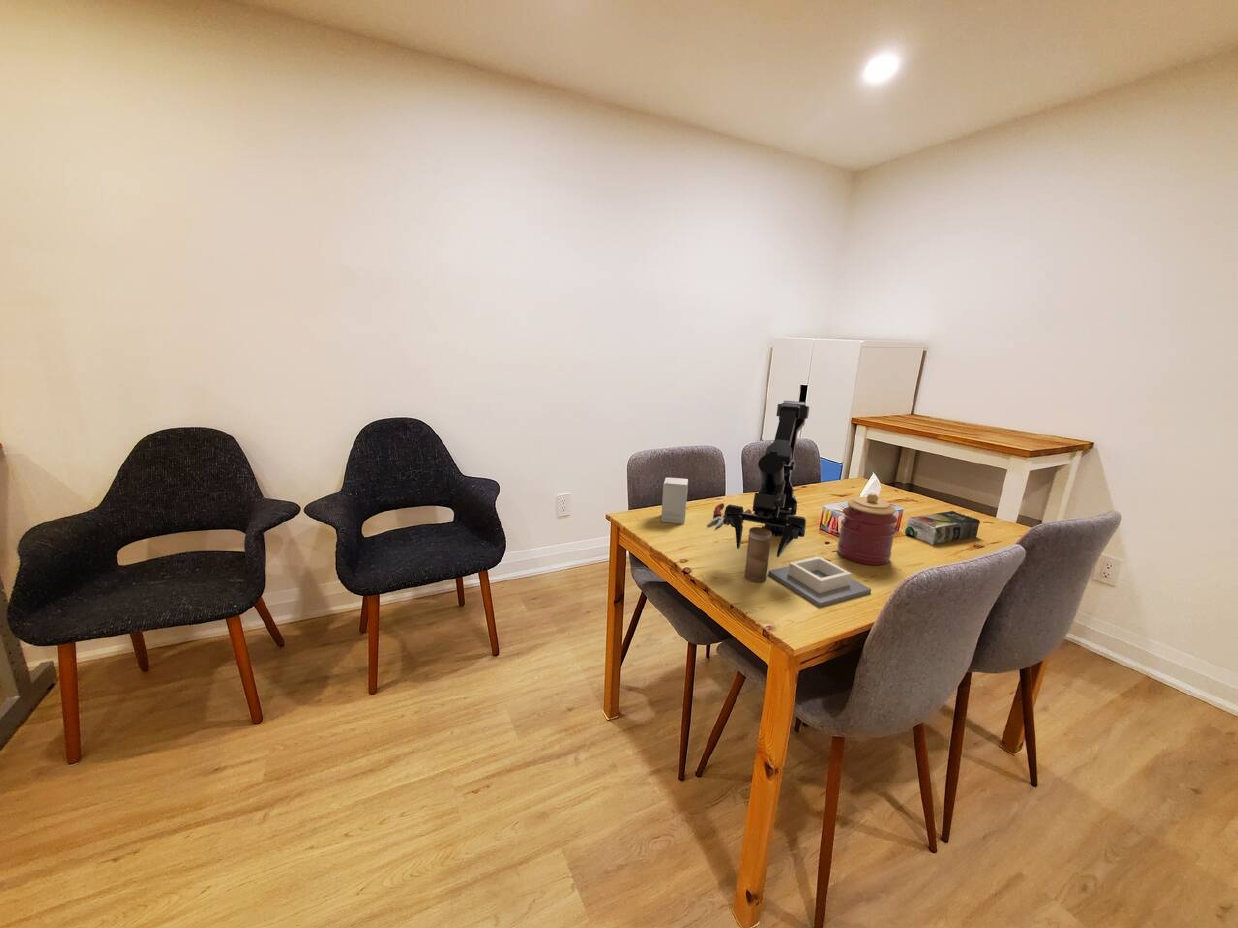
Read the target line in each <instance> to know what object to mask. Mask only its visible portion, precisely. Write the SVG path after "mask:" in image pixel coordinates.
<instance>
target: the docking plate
mask: <svg viewBox="0 0 1238 928" xmlns="http://www.w3.org/2000/svg"><path fill="white" fill-rule="evenodd" d="M767 575H768V576H770V577H772V578H773V579H774V580H776V581H778V582H779V583H781V584H782V585H784V586H785V587H787V588H789V589H790V590H792V591H793V592H795V593H796V594H798V595H800V596H802V597H803V598H804V599H806V600H807V601H809V602H811V603H812V604H814V605H815V606H816V607H819V608H821V607H825V606H829V605H833V604H835V603H840V602H843V601H846V600H847V601H848V600H849V599H850V598H851V599H854V598H857V597H858V598H859V597H861V596H865V595H867V594H868V595H869V594H871V592H872V588H871V587H868V586H867V585H865V584H862V583H861V582H859V581H857V580H855V579H853V578H852V572H850V571H848V570H846V569H845V568H842V567H841V566H838V565H836V564H834V563H833V562H831V561H828V560H827V559H825V558H823V557H821V556H814V557H810V558H804V559H802V560H801V559H800V560H797V561H793V562H789V564H788V566H784V567H780V568H776V569H775V568H774V569H771V570H768V571H767Z"/></svg>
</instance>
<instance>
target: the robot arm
mask: <svg viewBox="0 0 1238 928" xmlns="http://www.w3.org/2000/svg"><path fill="white" fill-rule="evenodd" d="M809 413H810V406H809V405H807V404H806V402H805V401H794V400H783V403H778V404H777V409H776V417H778V424H777V428H776V432H775V436H774V440H773V442H772V443H770V445H768V446H767V448H766V451H765V454H762V455H761V458H760V459H759V460H758V462H757V464H758V465H757V466H758V473H759V475H758V476H759V480H760V485H759V489H758V492H754V497H753V501H752V511H753V513H746V512H745V511H744V507H743V506H741V505H740V506H739V505H735V504H728V505H726V507H725V509H724V513H723V514H724V515H725V518H726V522H727V523H726V524H728V523H729V525H730V527H732V528H734V530H735V538H736V542H735V543H736V549H738V550H739V549H740V548H741V543H742V536H743V528H744V526H743V523H744V521H747V522H753V523H757V524H759V523H760V524H764V526H761V527H762V528H766V529H768V530H770V531H771V532H772V534H771V535H772V536H776V537H779V536H781V538H780V541H779V544H778V547H777V552H776V557H777V558H779V557H780V556H781V554H782V553H783V551H784V550H785V549H786V547H788V545H789V544H790V543H791V542H792V541H793V540H797V539H799V538H803V537H805V534H806V529H807V528H806V526H807V519H806V518H805V517H803V516H800V515H797V510H798V501H797V499H796V496H795V495H794V494H795V488H793V485H792V482H791V478H792V472H793V471H794V470H795V468H796V466H797V465H796V463H797V462H795V452H796V444H797V440H798V439H797V438H798V433H799V431H801V429H802V428H803V427H804V426H805V425H806V424H805V423H806V419H808V418H809V415H810V414H809Z"/></svg>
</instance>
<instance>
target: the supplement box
mask: <svg viewBox="0 0 1238 928" xmlns="http://www.w3.org/2000/svg"><path fill="white" fill-rule="evenodd" d="M688 486H689V479H688V478H682V477H681V478H678V477H665V478H664V482H663V486H662V504H661V519H660V520H661V521H660V522H663V523H671V524H681V525H682V524H683V525H684V524H685V520H686V514H687V513H686V512H687V501H688Z"/></svg>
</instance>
